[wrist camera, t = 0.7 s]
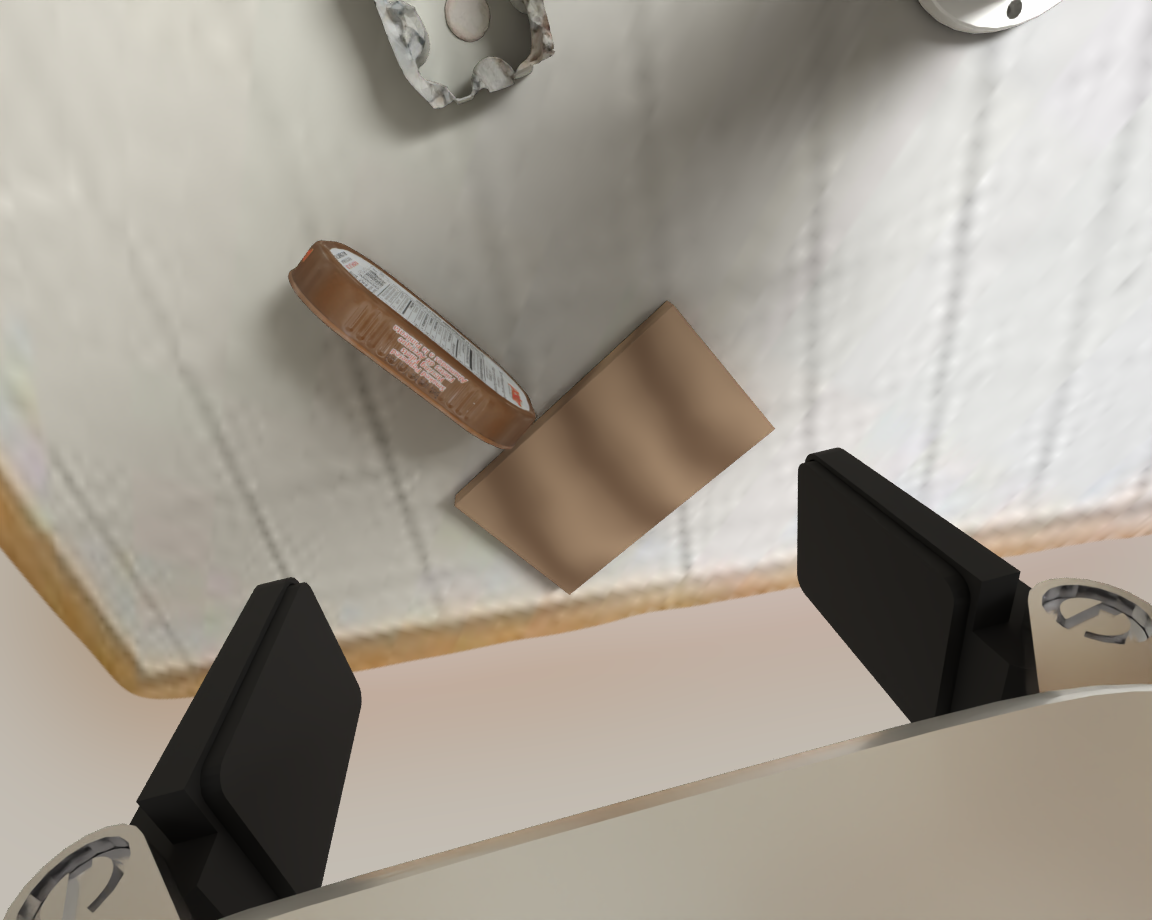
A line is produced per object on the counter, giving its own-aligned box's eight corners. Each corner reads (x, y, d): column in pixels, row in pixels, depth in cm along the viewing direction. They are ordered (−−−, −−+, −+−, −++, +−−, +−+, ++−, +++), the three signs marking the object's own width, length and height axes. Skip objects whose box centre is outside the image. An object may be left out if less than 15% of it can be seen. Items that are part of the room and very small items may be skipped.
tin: (311, 264, 33) (257, 291, 25) (342, 221, 32) (295, 236, 25) (509, 419, 39) (511, 477, 31) (539, 386, 38) (549, 438, 30)
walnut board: (667, 300, 36) (673, 305, 35) (766, 420, 41) (775, 428, 40) (455, 495, 41) (454, 505, 39) (567, 582, 46) (569, 594, 44)
